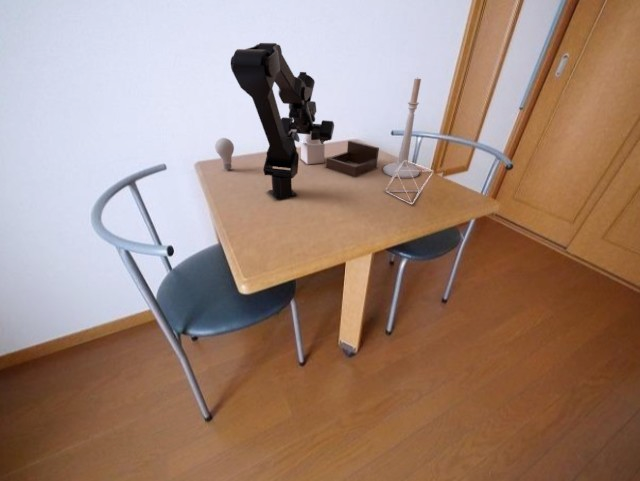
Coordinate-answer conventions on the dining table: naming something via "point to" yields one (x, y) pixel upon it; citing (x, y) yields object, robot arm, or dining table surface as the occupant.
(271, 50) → the robot arm
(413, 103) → the candlestick
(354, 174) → the wooden holder
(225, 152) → the lightbulb
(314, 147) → the medicine bottle
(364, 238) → the dining table surface
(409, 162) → the geometric polyhedron
